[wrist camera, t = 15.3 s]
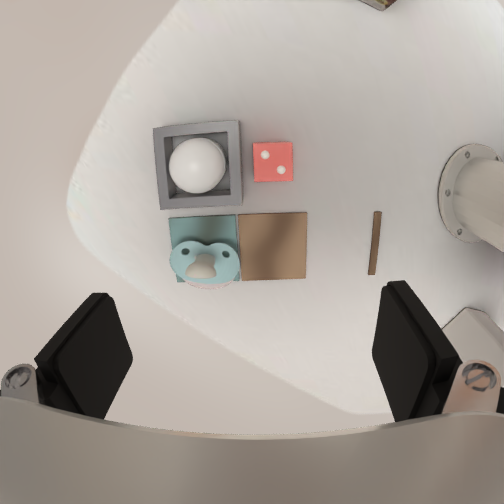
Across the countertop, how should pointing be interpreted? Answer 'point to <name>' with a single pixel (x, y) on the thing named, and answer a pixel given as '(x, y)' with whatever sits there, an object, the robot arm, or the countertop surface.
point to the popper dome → (198, 165)
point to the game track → (260, 242)
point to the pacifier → (205, 264)
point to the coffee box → (379, 3)
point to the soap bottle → (477, 338)
